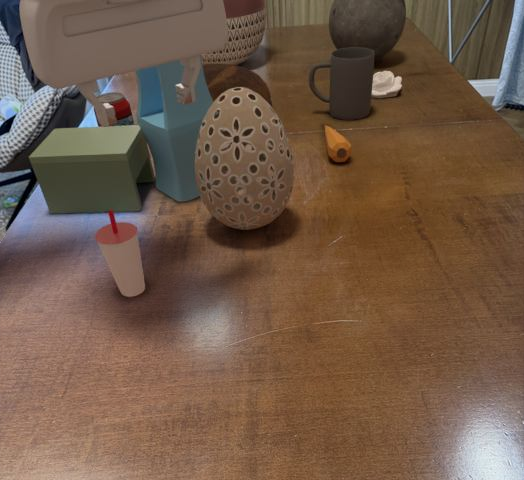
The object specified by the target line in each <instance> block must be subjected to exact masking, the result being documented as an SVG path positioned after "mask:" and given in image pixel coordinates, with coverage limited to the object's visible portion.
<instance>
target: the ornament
mask: <svg viewBox="0 0 524 480" xmlns="http://www.w3.org/2000/svg"><path fill="white" fill-rule="evenodd" d="M236 88H241V90H235V89H236ZM222 97H225V99H224V100H223V101H221V102H219V100H220V99H221V98H222ZM217 110H220V112H219V113H218V114H215V112H216V111H217ZM255 113H256V114H257V115H256V114H255ZM273 120H274V122H273ZM202 125H203V127H202ZM202 125H201V127H200V131H199V134H198V139H197V144H196V150H195V176H196V182H197V187H198V191H199V193H200V196H199V197H200V198H201V201H202V203H203V205H204V206H205V208H206V210H207V211H208V212H209V213H210V214H211V216H213V218H214V219H216V220H217V221H219V222H220V223H222V224H223V225H225V226H227V227H230V228H231V229H236V230H243V231H244V230H245V231H247V230H254V229H259V228H262V227H265V226H267V225H268V224H271V223H272V222H274V220H276V219H277V218H278V217H279V216H280V215H281V214H282V213H283V211H284V209H285V208H286V206H287V204H288V203H289V200H290V198H291V195H292V191H293V188H294V181H295V180H294V179H295V167H294V166H295V165H294V164H295V163H294V157H293V151H292V147H291V144H290V139H289V137H288V134H287V132H286V129H285V128H284V125H283V123H282V120H281V119H280V118H279V116H278V115H277V113H276V111H275V110H274V108H273V107H272V106H271V104H269V103H268V102H267V101H266V100H265V99H264V98H263V97H261V96H260V95H259V94H257V93H256V92H254V91H252V90H250V89H248V88H244V87H235V88H231V89H228V90H227V91H225V92H224V93H222V94H221V95H220V96H219V97H218V98H217V99H216V100H215V101H214V102H213V104H212V105H211V107H210V108H209V110H208V111H207V113H206V115H205V117H204V119H203V122H202ZM265 126H266V127H265ZM281 130H282V131H281ZM268 143H270V145H271V146H269V145H268ZM226 144H228V146H226V147H225V148H224V146H225V145H226ZM247 145H250V146H251V149H250V148H247V147H246V146H247ZM281 147H282V148H283V150H282V149H280V148H281ZM199 148H200V149H199ZM209 148H210V150H209V152H208V151H207V149H209ZM214 156H215V159H214V161H213V160H212V158H213V157H214ZM271 171H272V172H273V173H272V174H273V175H271ZM199 173H200V174H199ZM202 176H203V177H204V180H205V182H204V181H203V180H202ZM260 179H261V180H260ZM259 180H260V181H259ZM212 183H213V185H212ZM219 183H220V184H219ZM209 184H210V185H211V186H210V185H209ZM242 190H244V192H243V193H242V194H239V192H240V191H242ZM249 198H250V200H249Z"/></svg>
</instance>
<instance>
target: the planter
mask: <svg viewBox="0 0 524 480" xmlns="http://www.w3.org/2000/svg"><path fill="white" fill-rule="evenodd" d="M223 3H224V8H225V13H226V19H227V26H228V40H227V42H226V45H225V47H224V49H222V50H219V51H215V52H211V53H207V54H203V55H202V65H204V64H228V65H235V66H239V65H240V64H242V63H244V62H246V61H247V60H248V59H250V58H251V57H252V56H253V54H255V52H256V51H257V50H258V48H259V47H260V45H261V43H262V42H263V39H264V36H265V31H266V24H267V0H223Z"/></svg>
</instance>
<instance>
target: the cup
mask: <svg viewBox="0 0 524 480" xmlns="http://www.w3.org/2000/svg"><path fill="white" fill-rule="evenodd" d="M107 214H108V217H109V218H108V219H109V221H110V223H108V224H106V225H103V226H102V227H100V228H99V229H98V230H97V231H96V232H95V234H94V239H95V241H96V242H97V244H98V246H99V248H100V250H101V253H102V255H103V258H104V259H105V262H106V264H107V266H108V268H109V270H110V273H111V275H112V277H113V279H114V281H115V283H116V285H117V288H118V290H119V292H120V294H121V295H122V296H124V297H128V298H131V297H132V298H133V297H137V296H140V294H142V293H144V291H145V290H146V283H145V277H144V269H143V262H142V256H141V249H140V243H139V237H138V227H137V226H136V224H133V223H132V222H128V221H116V218H115V212H113V211H110V210H108V212H107Z"/></svg>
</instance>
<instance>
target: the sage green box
mask: <svg viewBox="0 0 524 480" xmlns="http://www.w3.org/2000/svg"><path fill="white" fill-rule="evenodd" d="M28 160H29V162H30V165H31V168H32V171H33V172H34V175H35V178H36V180H37V182H38V185H39V188H40V190H41V193H42V196H43V198H44V201H45V203H46V206H47V209H48V211H49V214H51V215H53V214H55V215H56V214H84V213H85V214H86V213H90V214H91V213H92V214H93V213H108V210H110V211H113V213H120V212H121V213H123V212H141V211H142V208H143V205H142V201H141V197H140V193H139V189H138V187H137V186H138V185H137V183H138V184H141V183H142V184H143V183H154V182H155V181H156V176H155V172H154V167H153V164H152V159H151V153H150V149H149V146H148V144H147V141H146V139H145V137H144V135H143V133H142V131H141V128H140V126H139V124H134V125H126V126H108V127H98V126H85V127H84V126H82V127H59V128H54V129H52V131H51V132H50V133H49V134H48V135H47V136H46V138H44V140H43V141H42V142H41V143H40V144H39V145H38V146H37V147H36V149H34V151H33V152H32V153H30V155H29V156H28Z"/></svg>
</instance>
